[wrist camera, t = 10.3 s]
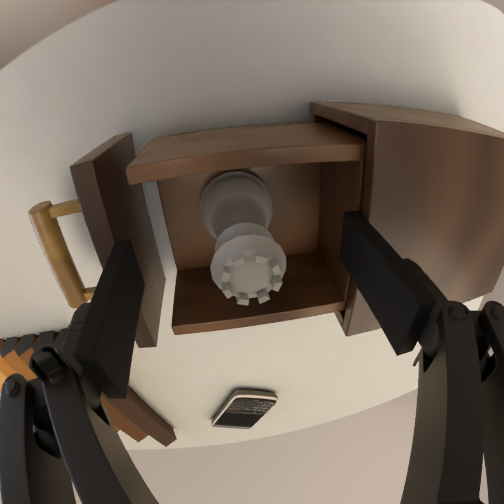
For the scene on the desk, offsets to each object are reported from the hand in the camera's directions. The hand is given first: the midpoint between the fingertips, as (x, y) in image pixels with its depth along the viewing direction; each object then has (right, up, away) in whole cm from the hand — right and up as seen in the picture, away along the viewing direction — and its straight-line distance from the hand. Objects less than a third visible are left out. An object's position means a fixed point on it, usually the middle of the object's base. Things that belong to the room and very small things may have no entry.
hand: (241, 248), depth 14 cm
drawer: (-4, +3, +6) cm, 7 cm away
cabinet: (+12, +5, +7) cm, 15 cm away
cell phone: (-1, -21, +23) cm, 31 cm away
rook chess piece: (-1, +3, +5) cm, 6 cm away
